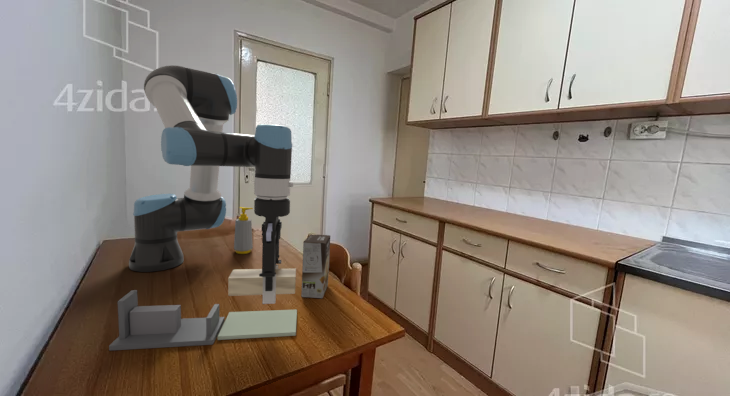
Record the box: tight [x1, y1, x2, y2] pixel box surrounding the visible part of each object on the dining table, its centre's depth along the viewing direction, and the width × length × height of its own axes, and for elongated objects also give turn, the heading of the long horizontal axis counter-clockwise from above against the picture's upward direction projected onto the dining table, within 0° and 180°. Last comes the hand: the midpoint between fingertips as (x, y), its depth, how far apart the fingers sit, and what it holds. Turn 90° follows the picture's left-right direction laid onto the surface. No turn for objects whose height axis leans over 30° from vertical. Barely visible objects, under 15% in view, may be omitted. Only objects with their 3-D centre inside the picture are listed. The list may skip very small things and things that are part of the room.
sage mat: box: [217, 308, 298, 341], centre depth 69 cm, size 10×16×1 cm, turn 101°
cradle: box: [108, 289, 225, 351], centre depth 63 cm, size 9×18×9 cm, turn 101°
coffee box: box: [300, 233, 331, 299], centre depth 88 cm, size 9×6×16 cm
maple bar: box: [227, 267, 297, 297], centre depth 68 cm, size 5×14×4 cm, turn 102°
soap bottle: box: [233, 206, 254, 255], centre depth 118 cm, size 7×7×18 cm
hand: (270, 296), depth 69 cm, fingers closed on maple bar, 5 cm apart
